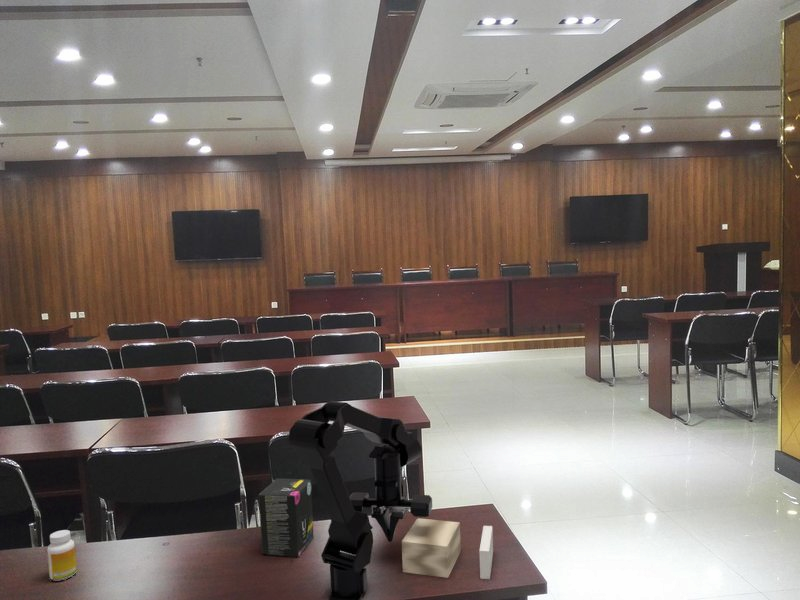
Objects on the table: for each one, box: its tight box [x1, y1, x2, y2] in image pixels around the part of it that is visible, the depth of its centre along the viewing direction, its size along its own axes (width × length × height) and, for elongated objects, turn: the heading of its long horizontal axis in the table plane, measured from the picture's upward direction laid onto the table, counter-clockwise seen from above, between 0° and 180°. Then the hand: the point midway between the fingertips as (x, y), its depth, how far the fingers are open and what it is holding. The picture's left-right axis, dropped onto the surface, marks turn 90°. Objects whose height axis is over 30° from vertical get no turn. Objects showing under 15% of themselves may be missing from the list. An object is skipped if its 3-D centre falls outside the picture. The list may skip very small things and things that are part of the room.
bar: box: [478, 525, 494, 580], centre depth 135 cm, size 2×12×6 cm, turn 168°
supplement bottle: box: [46, 529, 78, 579], centre depth 137 cm, size 5×5×10 cm
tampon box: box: [258, 478, 315, 558], centre depth 147 cm, size 11×9×15 cm
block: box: [401, 517, 462, 579], centre depth 137 cm, size 10×12×7 cm
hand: (390, 541), depth 139 cm, fingers closed
